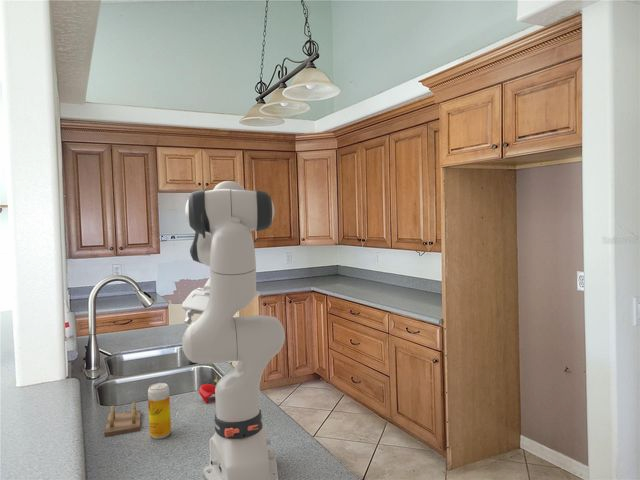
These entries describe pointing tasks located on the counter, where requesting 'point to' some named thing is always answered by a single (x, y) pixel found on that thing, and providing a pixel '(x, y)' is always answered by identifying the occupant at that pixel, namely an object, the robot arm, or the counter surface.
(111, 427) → the standoff plate
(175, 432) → the counter surface
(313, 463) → the counter surface
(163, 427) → the glass of beer
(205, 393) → the cap
